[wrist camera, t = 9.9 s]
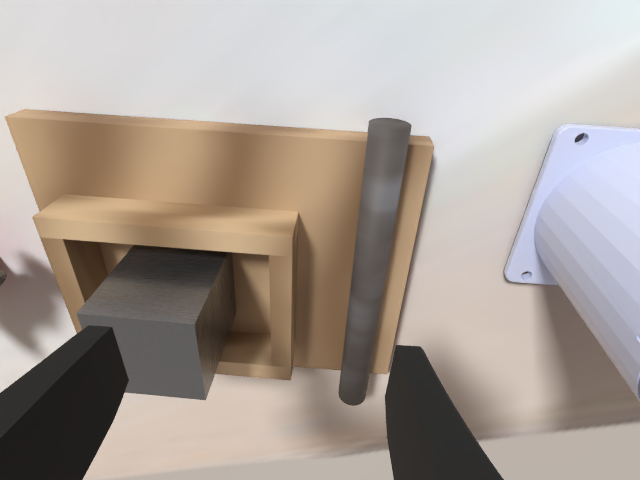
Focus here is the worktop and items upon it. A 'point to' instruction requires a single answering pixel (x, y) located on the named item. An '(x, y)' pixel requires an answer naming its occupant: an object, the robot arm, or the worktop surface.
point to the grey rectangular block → (167, 317)
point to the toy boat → (2, 276)
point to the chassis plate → (242, 224)
